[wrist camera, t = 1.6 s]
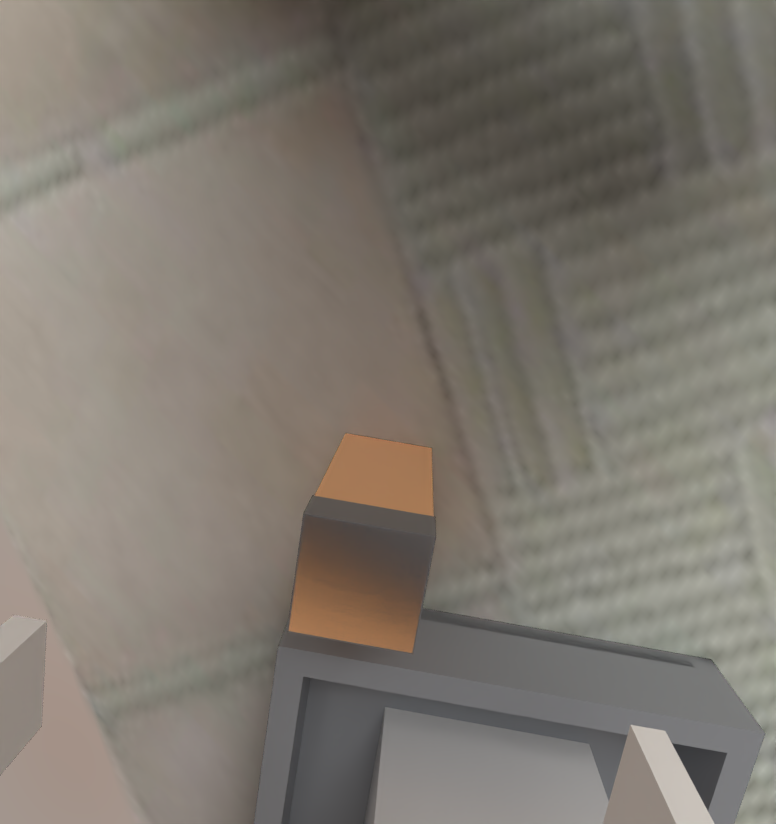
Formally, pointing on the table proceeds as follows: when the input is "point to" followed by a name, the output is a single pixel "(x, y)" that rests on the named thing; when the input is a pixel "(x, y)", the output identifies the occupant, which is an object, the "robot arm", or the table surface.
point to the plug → (367, 546)
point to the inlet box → (488, 727)
